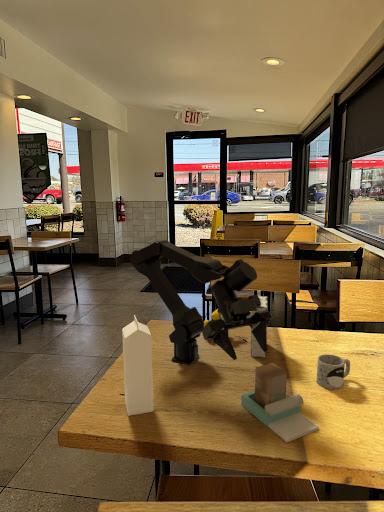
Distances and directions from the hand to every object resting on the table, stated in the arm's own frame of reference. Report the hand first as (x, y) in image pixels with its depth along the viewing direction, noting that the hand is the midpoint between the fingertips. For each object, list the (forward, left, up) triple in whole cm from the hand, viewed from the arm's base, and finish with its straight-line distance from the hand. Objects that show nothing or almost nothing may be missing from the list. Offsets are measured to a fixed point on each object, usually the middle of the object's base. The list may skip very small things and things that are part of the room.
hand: (251, 355), depth 91 cm
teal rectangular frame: (+9, -6, -10) cm, 15 cm away
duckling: (-22, +30, -11) cm, 38 cm away
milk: (-22, -17, -11) cm, 30 cm away
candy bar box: (-6, +26, -11) cm, 28 cm away
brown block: (+6, -4, -10) cm, 13 cm away
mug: (+18, +16, -11) cm, 26 cm away
